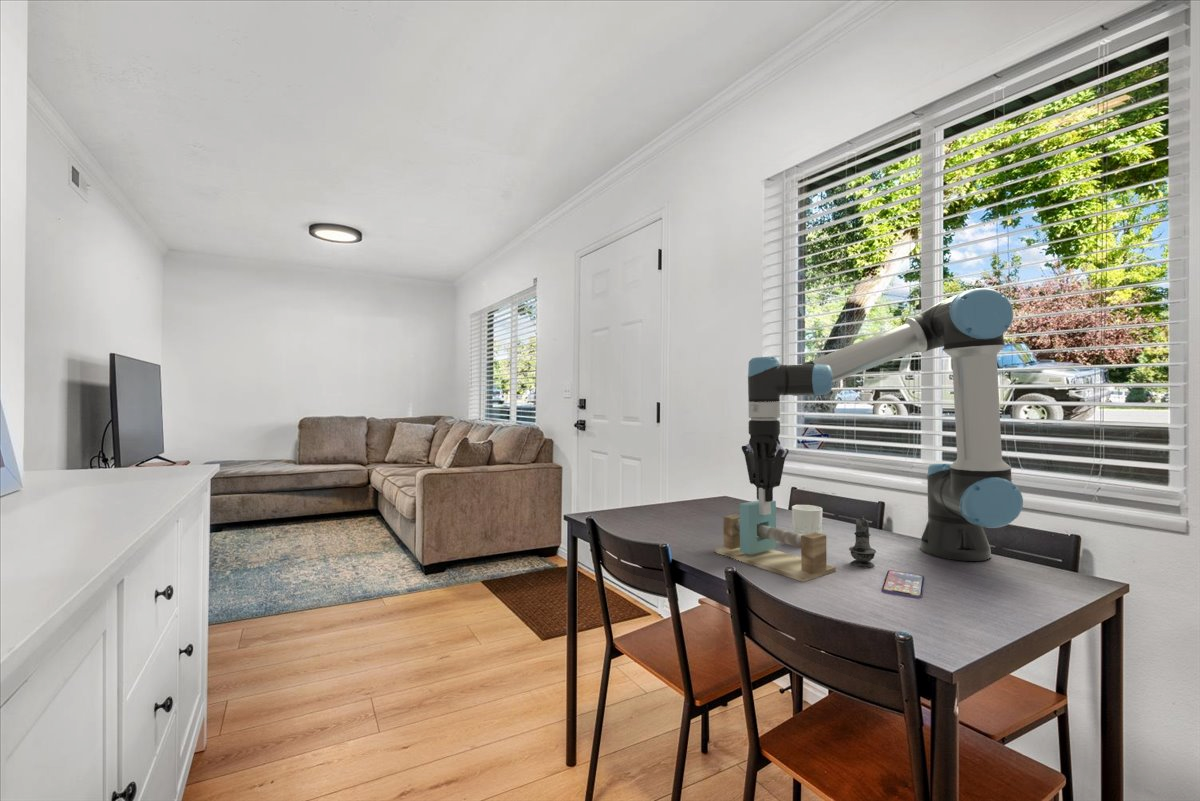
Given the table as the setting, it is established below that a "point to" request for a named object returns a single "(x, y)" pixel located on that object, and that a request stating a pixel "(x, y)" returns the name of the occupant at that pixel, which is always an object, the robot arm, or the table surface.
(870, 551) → the black chess piece
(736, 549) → the pipe stand
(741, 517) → the collar
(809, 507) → the white cup
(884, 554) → the table surface
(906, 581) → the smartphone
